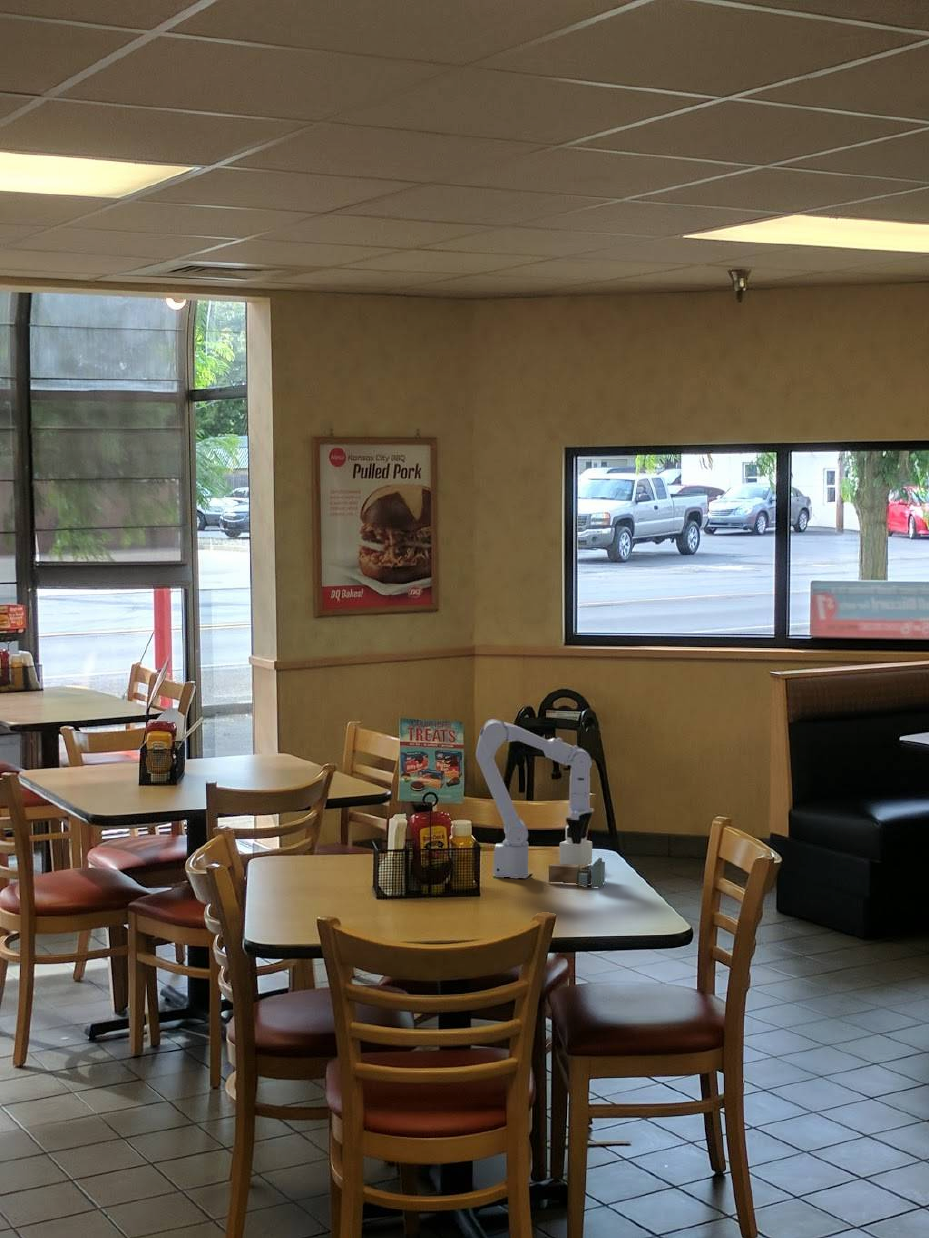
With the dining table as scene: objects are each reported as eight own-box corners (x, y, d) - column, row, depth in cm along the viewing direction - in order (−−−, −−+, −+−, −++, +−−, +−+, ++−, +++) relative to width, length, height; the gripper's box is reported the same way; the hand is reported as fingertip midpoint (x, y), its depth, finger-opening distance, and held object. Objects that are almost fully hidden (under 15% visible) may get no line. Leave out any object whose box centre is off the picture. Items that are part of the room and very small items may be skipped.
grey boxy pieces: (578, 887, 394) (578, 861, 394) (582, 881, 400) (582, 856, 400) (600, 888, 392) (601, 863, 392) (604, 883, 399) (605, 858, 398)
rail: (548, 883, 398) (548, 865, 398) (550, 881, 401) (551, 863, 401) (590, 886, 395) (590, 868, 395) (592, 884, 398) (592, 865, 398)
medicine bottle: (592, 865, 421) (592, 824, 420) (580, 870, 415) (581, 828, 414) (570, 862, 425) (571, 821, 424) (558, 866, 419) (559, 825, 418)
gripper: (589, 797, 398) (588, 846, 399) (598, 789, 412) (597, 836, 413) (564, 796, 400) (563, 845, 401) (573, 787, 414) (572, 835, 415)
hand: (578, 840), depth 407 cm, fingers open, 7 cm apart
